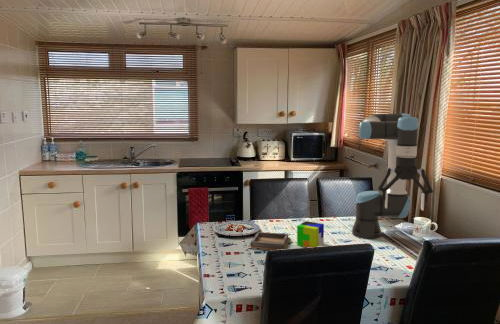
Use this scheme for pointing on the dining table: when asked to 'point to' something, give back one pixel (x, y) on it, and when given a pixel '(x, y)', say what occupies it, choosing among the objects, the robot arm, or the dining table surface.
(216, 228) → the ceramic plate
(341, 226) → the dining table surface
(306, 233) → the puzzle toy
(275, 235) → the pocket board
